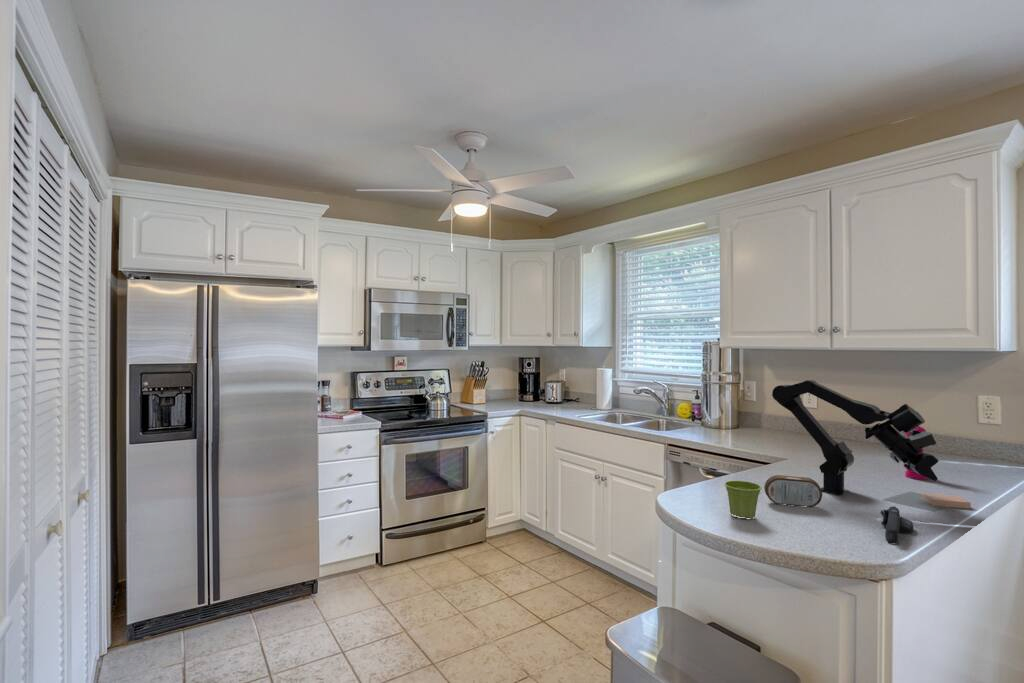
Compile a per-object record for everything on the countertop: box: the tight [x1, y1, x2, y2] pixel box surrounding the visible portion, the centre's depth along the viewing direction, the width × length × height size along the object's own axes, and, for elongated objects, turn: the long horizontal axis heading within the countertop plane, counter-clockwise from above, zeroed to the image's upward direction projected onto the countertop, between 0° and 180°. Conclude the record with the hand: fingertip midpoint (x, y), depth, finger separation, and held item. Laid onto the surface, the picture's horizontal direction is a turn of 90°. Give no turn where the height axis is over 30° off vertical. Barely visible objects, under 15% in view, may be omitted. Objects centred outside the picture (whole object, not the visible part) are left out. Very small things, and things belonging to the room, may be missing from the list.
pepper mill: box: [903, 425, 928, 480], centre depth 189 cm, size 7×7×20 cm
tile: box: [921, 492, 972, 509], centre depth 155 cm, size 2×7×9 cm
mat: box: [882, 491, 946, 513], centre depth 158 cm, size 18×13×1 cm
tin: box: [764, 474, 823, 508], centre depth 155 cm, size 15×3×8 cm, turn 71°
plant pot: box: [724, 480, 763, 518], centre depth 144 cm, size 9×9×9 cm
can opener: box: [879, 506, 914, 544], centre depth 131 cm, size 18×7×6 cm, turn 140°
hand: (936, 479), depth 156 cm, fingers closed
